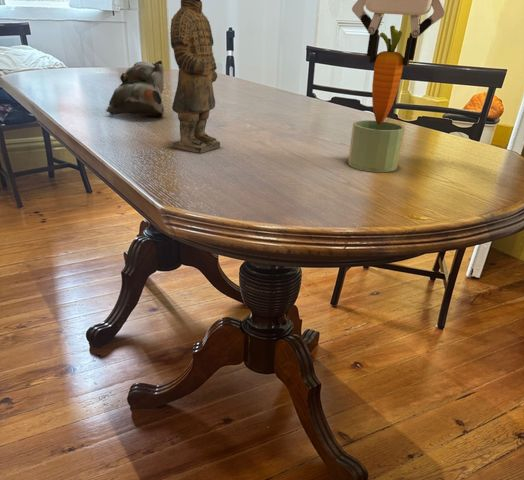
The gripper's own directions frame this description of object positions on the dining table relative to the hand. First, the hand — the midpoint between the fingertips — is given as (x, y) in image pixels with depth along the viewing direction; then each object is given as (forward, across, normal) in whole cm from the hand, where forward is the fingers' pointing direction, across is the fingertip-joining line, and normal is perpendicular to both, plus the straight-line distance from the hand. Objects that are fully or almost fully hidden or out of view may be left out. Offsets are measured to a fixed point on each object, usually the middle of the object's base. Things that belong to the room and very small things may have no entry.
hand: (389, 62), depth 86 cm
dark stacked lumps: (+17, -60, +18) cm, 65 cm away
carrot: (+10, 0, 0) cm, 10 cm away
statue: (+17, -34, -4) cm, 38 cm away
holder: (+17, 0, 0) cm, 17 cm away
